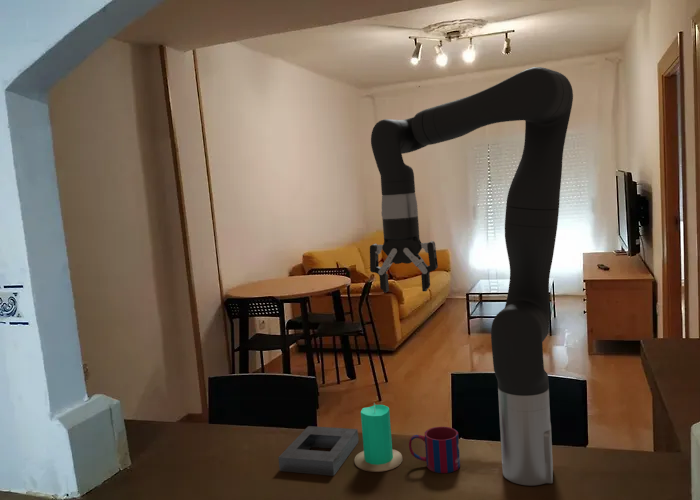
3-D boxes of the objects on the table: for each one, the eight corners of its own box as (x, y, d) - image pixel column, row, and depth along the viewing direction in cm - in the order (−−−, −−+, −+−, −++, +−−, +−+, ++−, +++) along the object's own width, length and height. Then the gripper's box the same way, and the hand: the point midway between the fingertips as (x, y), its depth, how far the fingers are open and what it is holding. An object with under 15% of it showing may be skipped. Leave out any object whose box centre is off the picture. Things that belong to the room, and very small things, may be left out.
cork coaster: (407, 451, 130) (407, 449, 129) (395, 473, 120) (395, 471, 120) (362, 448, 133) (362, 446, 133) (348, 469, 123) (347, 467, 123)
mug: (457, 474, 118) (455, 441, 117) (407, 471, 121) (405, 438, 120) (462, 459, 124) (460, 427, 123) (414, 456, 127) (412, 425, 126)
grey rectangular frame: (358, 441, 136) (357, 429, 136) (333, 475, 121) (332, 461, 121) (309, 438, 140) (308, 426, 140) (279, 471, 125) (278, 457, 125)
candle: (393, 451, 129) (389, 396, 128) (392, 464, 123) (388, 407, 122) (365, 452, 130) (360, 398, 128) (363, 465, 124) (358, 408, 122)
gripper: (436, 212, 129) (441, 287, 130) (372, 216, 133) (378, 288, 135) (429, 215, 122) (434, 294, 123) (362, 219, 126) (368, 295, 128)
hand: (405, 291), depth 129 cm, fingers open, 8 cm apart
